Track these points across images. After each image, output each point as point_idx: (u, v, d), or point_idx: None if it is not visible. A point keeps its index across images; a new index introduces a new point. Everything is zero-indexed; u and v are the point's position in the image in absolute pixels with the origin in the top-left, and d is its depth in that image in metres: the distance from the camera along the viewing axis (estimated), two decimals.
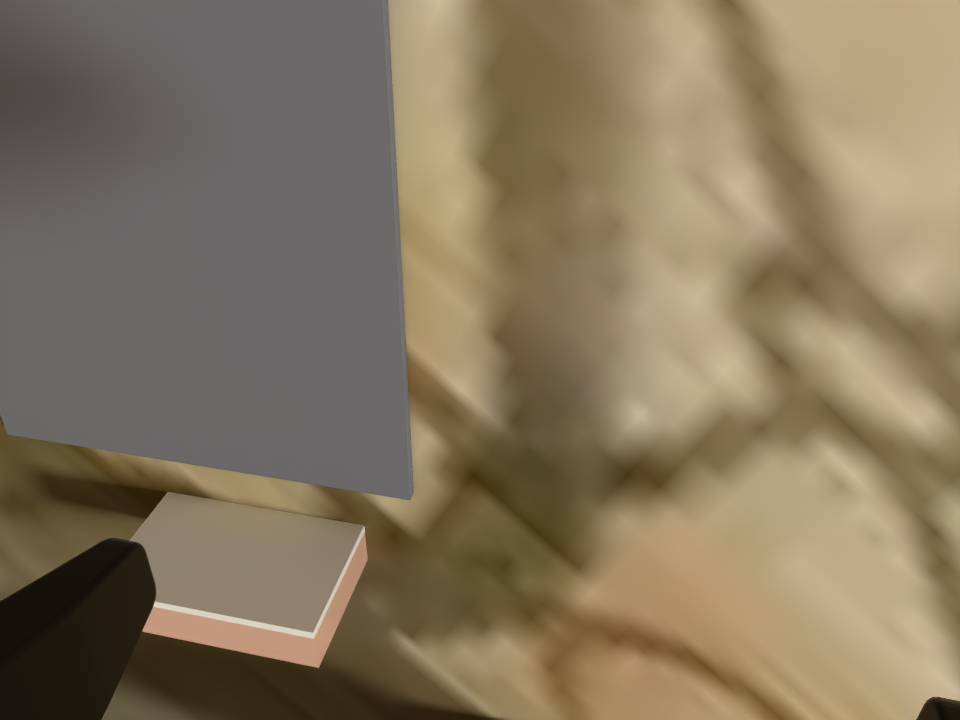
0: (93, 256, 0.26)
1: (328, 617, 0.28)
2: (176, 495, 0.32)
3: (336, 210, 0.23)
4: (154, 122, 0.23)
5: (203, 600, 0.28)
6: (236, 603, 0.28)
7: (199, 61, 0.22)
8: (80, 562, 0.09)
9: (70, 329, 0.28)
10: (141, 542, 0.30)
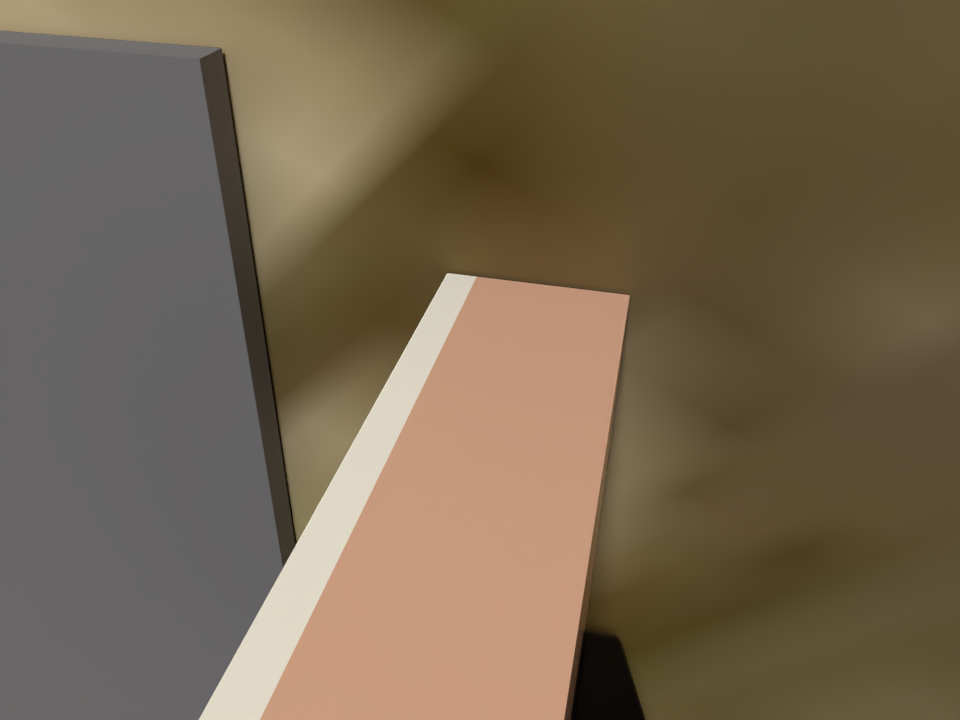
0: None
1: (395, 573, 0.05)
2: None
3: None
4: None
5: None
6: None
7: None
8: None
9: None
10: None
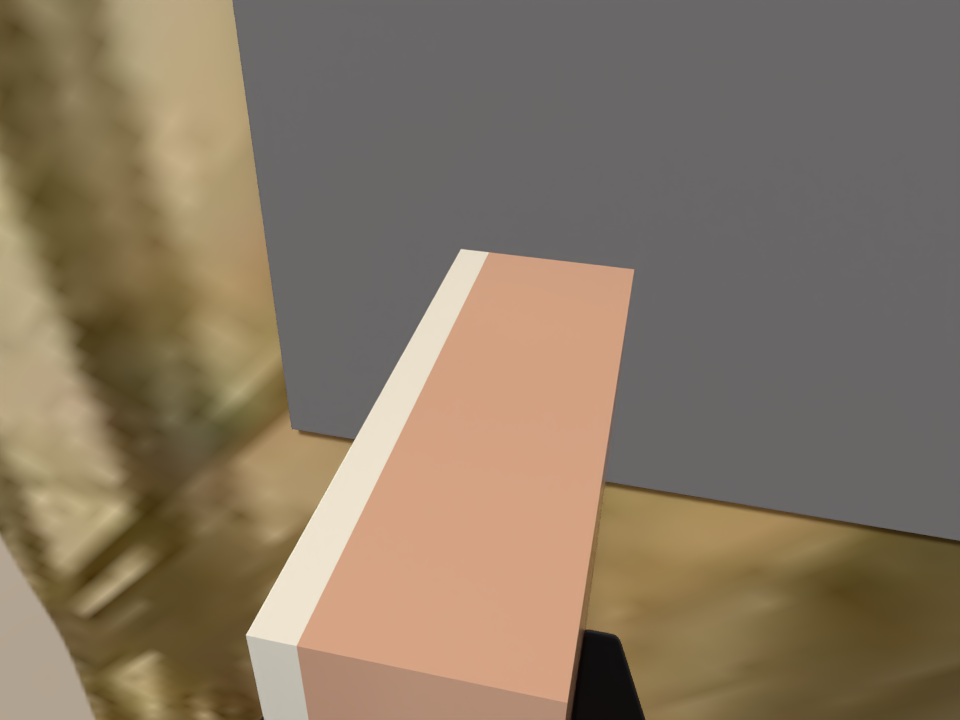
0: (674, 285, 0.18)
1: (422, 510, 0.05)
2: None
3: None
4: (479, 125, 0.17)
5: None
6: None
7: (397, 34, 0.17)
8: None
9: (793, 367, 0.19)
10: None
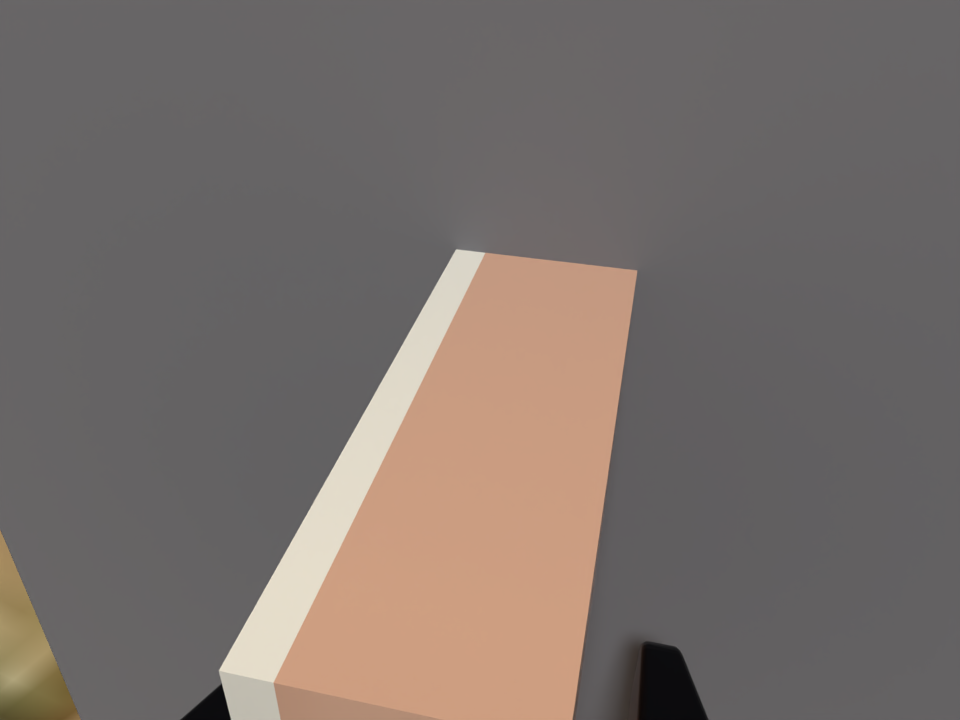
0: (651, 632, 0.11)
1: (413, 529, 0.05)
2: None
3: None
4: (300, 384, 0.10)
5: None
6: None
7: (135, 234, 0.09)
8: None
9: None
10: None
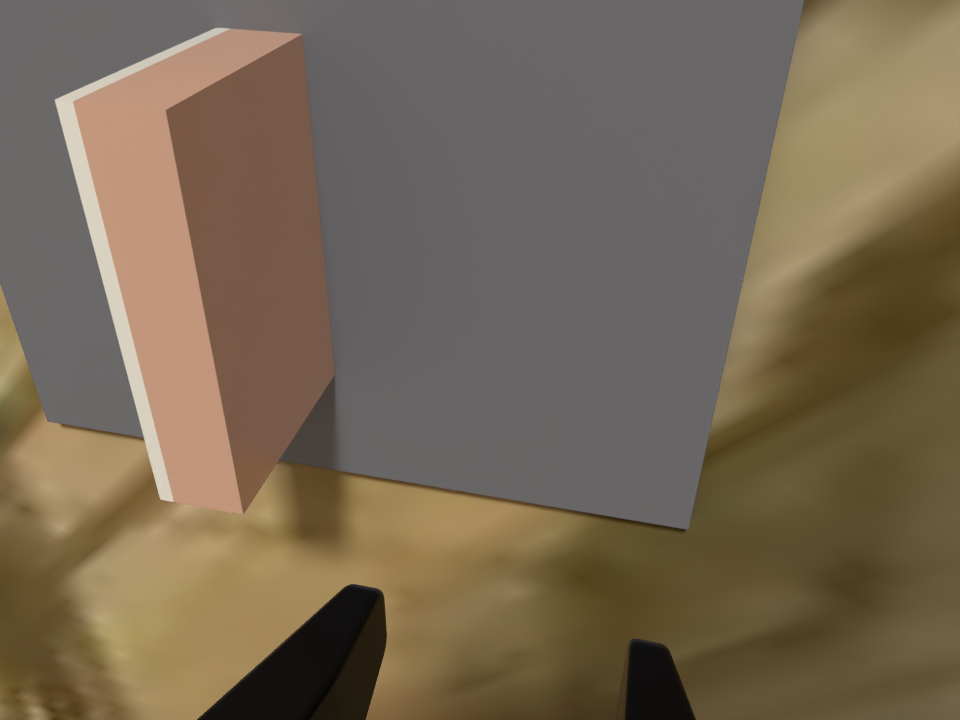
0: (358, 275, 0.19)
1: (140, 81, 0.13)
2: None
3: None
4: None
5: None
6: None
7: (56, 29, 0.17)
8: (331, 613, 0.09)
9: (483, 356, 0.19)
10: None
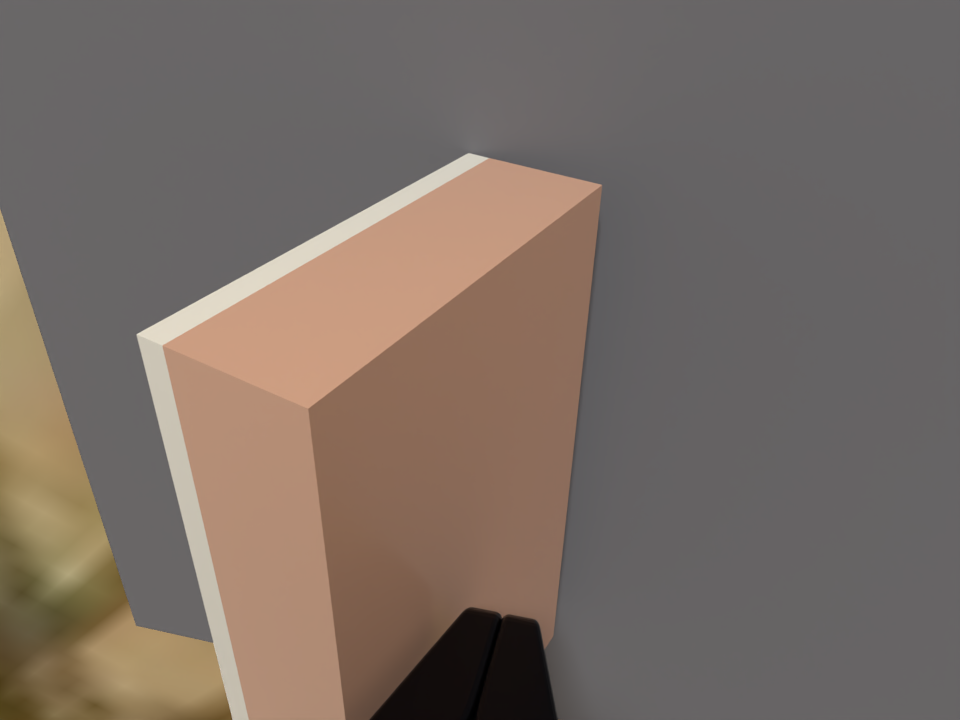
0: (630, 497, 0.13)
1: (300, 296, 0.07)
2: None
3: None
4: None
5: None
6: None
7: (203, 146, 0.11)
8: (457, 638, 0.09)
9: (803, 608, 0.13)
10: None
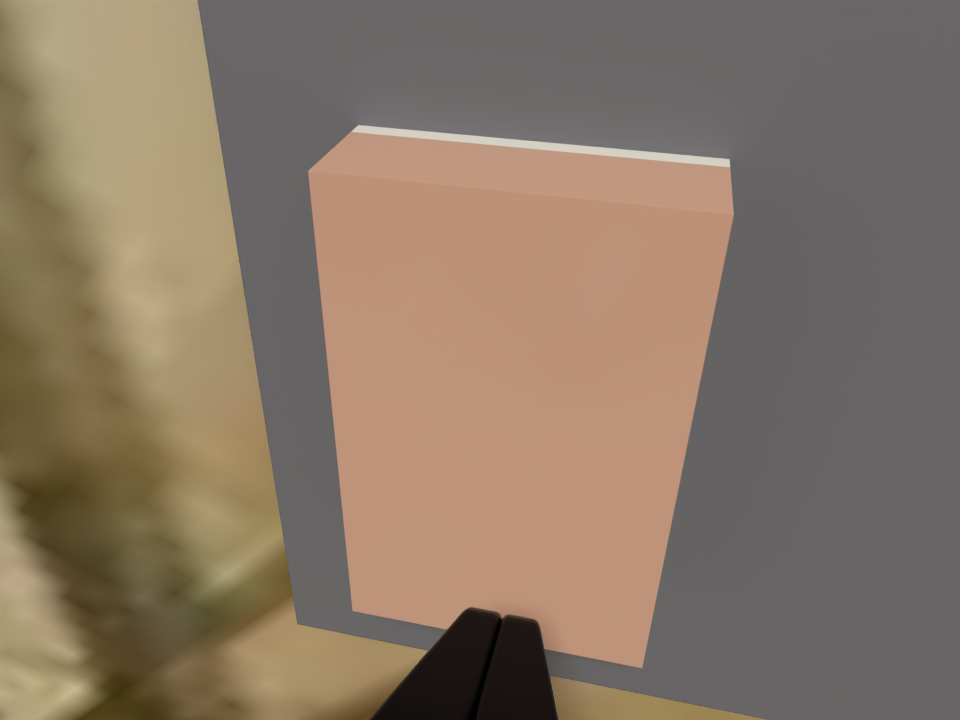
0: (840, 491, 0.13)
1: (427, 148, 0.11)
2: None
3: None
4: None
5: None
6: None
7: None
8: (456, 639, 0.09)
9: None
10: None
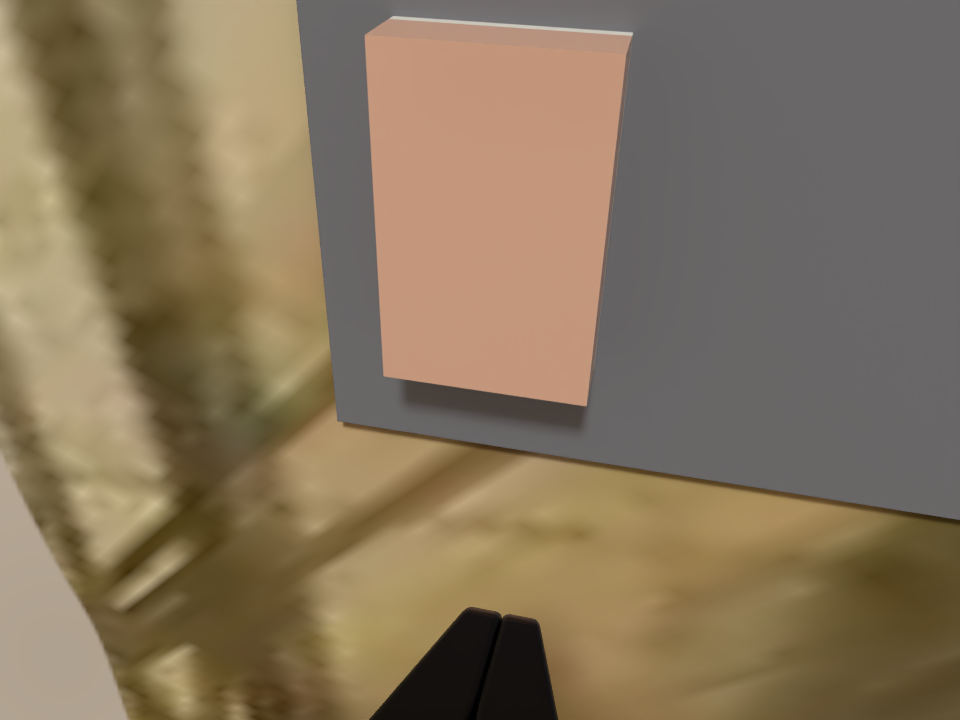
0: (721, 277, 0.19)
1: (439, 26, 0.17)
2: None
3: None
4: None
5: None
6: None
7: None
8: (457, 638, 0.09)
9: (836, 357, 0.19)
10: None
